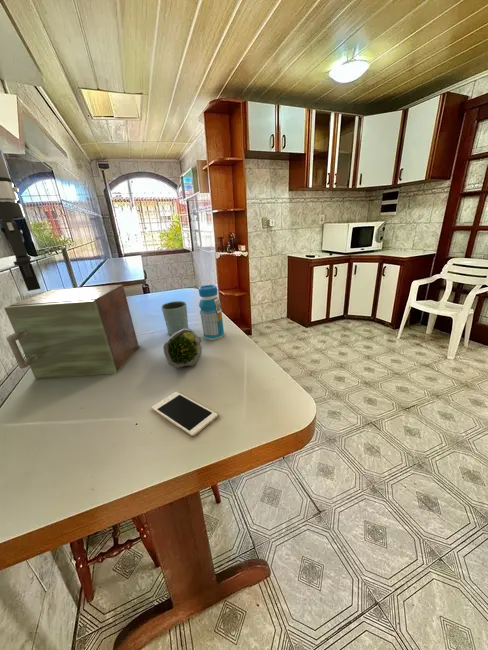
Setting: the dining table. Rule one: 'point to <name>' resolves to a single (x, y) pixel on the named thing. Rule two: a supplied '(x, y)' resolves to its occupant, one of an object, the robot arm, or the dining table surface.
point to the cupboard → (110, 309)
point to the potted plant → (183, 348)
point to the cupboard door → (60, 339)
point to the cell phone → (185, 413)
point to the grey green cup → (175, 316)
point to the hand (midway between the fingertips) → (33, 286)
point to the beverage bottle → (210, 312)
